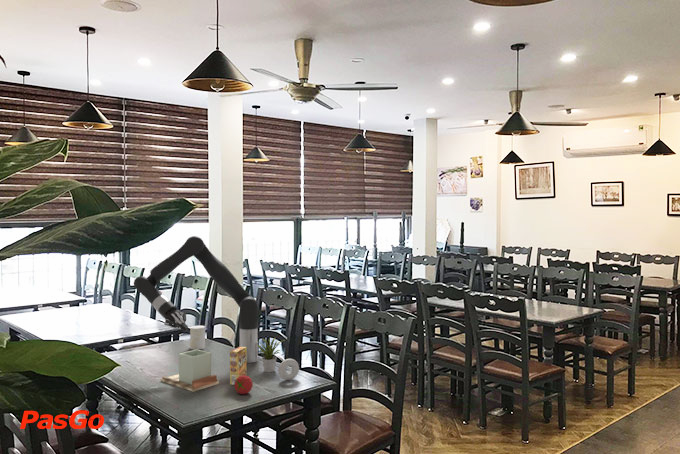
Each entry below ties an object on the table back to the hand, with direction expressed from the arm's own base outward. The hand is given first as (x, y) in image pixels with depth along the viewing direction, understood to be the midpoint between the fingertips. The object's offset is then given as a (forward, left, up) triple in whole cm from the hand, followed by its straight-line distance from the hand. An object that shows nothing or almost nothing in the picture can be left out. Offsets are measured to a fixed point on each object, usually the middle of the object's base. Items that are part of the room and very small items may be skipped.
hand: (186, 330), depth 260 cm
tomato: (-28, +32, -21) cm, 48 cm away
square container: (-6, +17, -20) cm, 27 cm away
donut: (-48, +15, -21) cm, 55 cm away
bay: (-3, +14, -21) cm, 25 cm away
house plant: (-40, -2, -21) cm, 46 cm away
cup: (+2, -50, -21) cm, 55 cm away
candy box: (-25, +16, -21) cm, 37 cm away
